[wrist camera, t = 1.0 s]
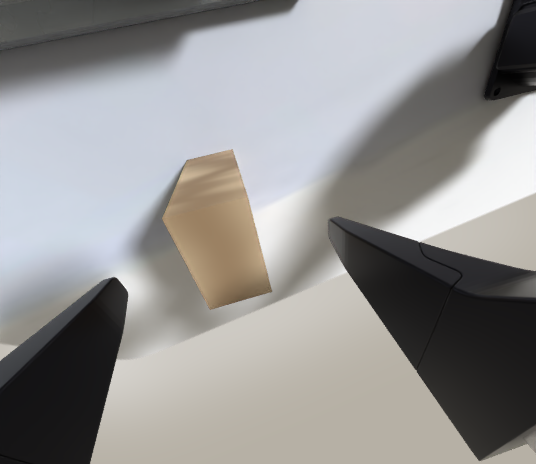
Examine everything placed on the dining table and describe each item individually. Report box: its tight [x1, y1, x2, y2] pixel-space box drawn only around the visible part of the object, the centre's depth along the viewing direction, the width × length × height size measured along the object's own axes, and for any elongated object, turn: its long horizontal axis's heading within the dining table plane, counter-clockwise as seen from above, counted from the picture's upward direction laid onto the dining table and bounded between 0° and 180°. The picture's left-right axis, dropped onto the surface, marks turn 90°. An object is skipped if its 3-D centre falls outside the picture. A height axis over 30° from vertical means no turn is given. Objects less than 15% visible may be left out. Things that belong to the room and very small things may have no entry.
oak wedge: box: [162, 149, 272, 310], centre depth 12 cm, size 3×5×8 cm, turn 11°
